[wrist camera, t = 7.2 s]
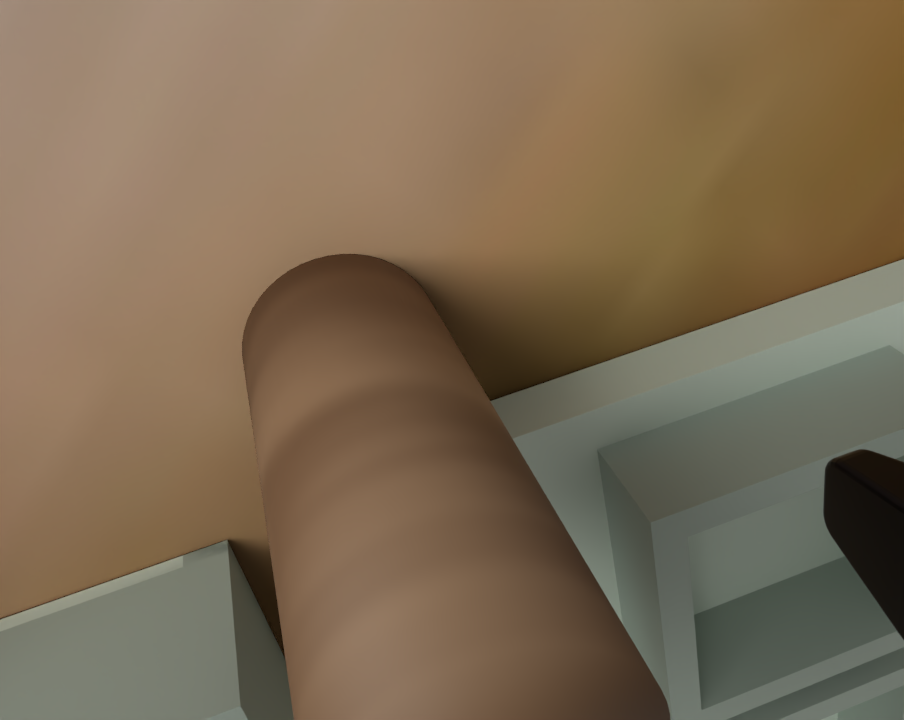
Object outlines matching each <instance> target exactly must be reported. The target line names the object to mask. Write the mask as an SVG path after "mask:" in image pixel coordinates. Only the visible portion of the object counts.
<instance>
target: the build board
mask: <svg viewBox="0 0 904 720" xmlns="http://www.w3.org/2000/svg"><path fill="white" fill-rule="evenodd" d="M490 402H491V403H492V405H493V407H494V409H495V410H496V412H497V414H498V415H499V417H500V419H501V420H502V422H503V424H504V425H505V427H506V429H507V430H508V432H509V434H510V435H511V437H512V439H513V440H514V442H515V444H516V446H517V447H518V449H519V451H520V452H521V454H522V456H523V457H524V459H525V461H526V462H527V464H528V466H529V467H530V469H531V471H532V472H533V474H534V476H535V477H536V479H537V481H538V483H539V484H540V486H541V488H542V489H543V491H544V493H545V494H546V496H547V498H548V499H549V501H550V503H551V504H552V506H553V508H554V509H555V511H556V513H557V515H558V516H559V518H560V520H561V521H562V523H563V525H564V526H565V528H566V530H567V531H568V533H569V535H570V536H571V538H572V540H573V541H574V543H575V545H576V546H577V548H578V550H579V552H580V553H581V555H582V557H583V558H584V560H585V562H586V563H587V565H588V567H589V568H590V570H591V572H592V573H593V575H594V577H595V578H596V580H597V582H598V583H599V585H600V587H601V589H602V590H603V592H604V594H605V595H606V597H607V599H608V600H609V602H610V604H611V605H612V607H613V609H614V610H615V612H616V614H617V615H618V617H619V619H620V621H621V622H622V624H623V626H624V627H625V629H626V631H627V632H628V634H629V636H630V637H631V639H632V641H633V642H634V644H635V646H636V647H637V649H638V651H639V652H640V654H641V656H642V658H643V659H644V661H645V663H646V664H647V666H648V668H649V669H650V671H651V673H652V674H653V676H654V678H655V679H656V681H657V683H658V684H659V686H660V688H661V690H662V692H663V694H664V696H665V698H666V700H667V703H668V708H669V712H670V720H904V640H903V639H902V637H901V636H900V635H899V633H898V632H897V630H896V629H895V628H894V626H893V625H892V623H891V622H890V620H889V619H888V617H887V616H886V615H885V613H884V612H883V610H882V609H881V607H880V606H879V604H878V603H877V602H876V600H875V599H874V597H873V596H872V594H871V593H870V591H869V590H868V589H867V587H866V586H865V584H864V583H863V581H862V580H861V579H860V577H859V576H858V574H857V573H856V571H855V570H854V568H853V567H852V566H851V564H850V563H849V561H848V560H847V558H846V557H845V555H844V554H843V553H842V551H841V550H840V548H839V547H838V545H837V544H836V542H835V541H834V540H833V538H832V537H831V535H830V533H829V531H828V529H827V527H826V524H825V521H824V517H823V502H824V475H825V467H826V465H827V463H828V462H829V461H830V460H831V459H833V458H835V457H838V456H841V455H843V454H846V453H849V452H852V451H854V450H858V449H866V450H871V451H874V452H877V453H880V454H883V455H886V456H888V457H891V458H894V459H897V460H900V461H903V462H904V259H902V260H899V261H897V262H894V263H891V264H888V265H885V266H882V267H879V268H876V269H873V270H870V271H867V272H865V273H862V274H859V275H856V276H853V277H850V278H847V279H844V280H841V281H838V282H835V283H833V284H830V285H827V286H824V287H821V288H818V289H815V290H812V291H809V292H806V293H803V294H801V295H798V296H795V297H792V298H789V299H786V300H783V301H780V302H777V303H774V304H771V305H769V306H766V307H763V308H760V309H757V310H754V311H751V312H748V313H745V314H742V315H739V316H737V317H734V318H731V319H728V320H725V321H722V322H719V323H716V324H713V325H710V326H707V327H705V328H702V329H699V330H696V331H693V332H690V333H687V334H684V335H681V336H678V337H675V338H673V339H670V340H667V341H664V342H661V343H658V344H655V345H652V346H649V347H646V348H643V349H641V350H638V351H635V352H632V353H629V354H626V355H623V356H620V357H617V358H614V359H612V360H609V361H606V362H603V363H600V364H597V365H594V366H591V367H588V368H585V369H582V370H580V371H577V372H574V373H571V374H568V375H565V376H562V377H559V378H556V379H553V380H550V381H548V382H545V383H542V384H539V385H536V386H533V387H530V388H527V389H524V390H521V391H518V392H516V393H513V394H510V395H507V396H504V397H501V398H498V399H495V400H492V401H490Z"/></svg>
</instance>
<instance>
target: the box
mask: <svg viewBox="0 0 904 720" xmlns="http://www.w3.org/2000/svg"><path fill="white" fill-rule="evenodd" d="M0 720H294V717H293V710H292V703H291V696H290V688H289V681H288V674H287V667H286V660H285V657H284V655H283V653H282V651H281V649H280V647H279V645H278V643H277V641H276V639H275V637H274V635H273V633H272V631H271V629H270V627H269V625H268V622H267V620H266V618H265V616H264V614H263V612H262V610H261V608H260V606H259V604H258V602H257V600H256V598H255V596H254V594H253V592H252V590H251V588H250V586H249V584H248V582H247V579H246V577H245V575H244V573H243V571H242V569H241V567H240V565H239V563H238V561H237V559H236V557H235V555H234V553H233V551H232V549H231V547H230V545H229V543H228V541H227V540H226V541H223V542H220V543H217V544H214V545H211V546H208V547H206V548H203V549H200V550H197V551H194V552H191V553H189V554H186V555H183V556H180V557H177V558H174V559H171V560H169V561H166V562H163V563H160V564H157V565H154V566H152V567H149V568H146V569H143V570H140V571H137V572H134V573H132V574H129V575H126V576H123V577H120V578H117V579H114V580H112V581H109V582H106V583H103V584H100V585H97V586H95V587H92V588H89V589H86V590H83V591H80V592H77V593H75V594H72V595H69V596H66V597H63V598H60V599H58V600H55V601H52V602H49V603H46V604H43V605H40V606H38V607H35V608H32V609H29V610H26V611H23V612H20V613H18V614H15V615H12V616H9V617H6V618H3V619H1V620H0Z"/></svg>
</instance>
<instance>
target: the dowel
mask: <svg viewBox="0 0 904 720" xmlns="http://www.w3.org/2000/svg"><path fill="white" fill-rule="evenodd" d="M242 356H243V364H244V371H245V378H246V385H247V392H248V399H249V406H250V413H251V420H252V427H253V434H254V441H255V448H256V455H257V462H258V469H259V477H260V484H261V491H262V498H263V505H264V512H265V519H266V526H267V533H268V540H269V547H270V554H271V561H272V568H273V575H274V583H275V590H276V597H277V604H278V611H279V618H280V625H281V632H282V639H283V646H284V653H285V660H286V667H287V674H288V681H289V688H290V696H291V703H292V710H293V717H294V720H670V712H669V708H668V703H667V700H666V698H665V696H664V694H663V692H662V690H661V688H660V686H659V684H658V683H657V681H656V679H655V678H654V676H653V674H652V673H651V671H650V669H649V668H648V666H647V664H646V663H645V661H644V659H643V658H642V656H641V654H640V652H639V651H638V649H637V647H636V646H635V644H634V642H633V641H632V639H631V637H630V636H629V634H628V632H627V631H626V629H625V627H624V626H623V624H622V622H621V621H620V619H619V617H618V615H617V614H616V612H615V610H614V609H613V607H612V605H611V604H610V602H609V600H608V599H607V597H606V595H605V594H604V592H603V590H602V589H601V587H600V585H599V583H598V582H597V580H596V578H595V577H594V575H593V573H592V572H591V570H590V568H589V567H588V565H587V563H586V562H585V560H584V558H583V557H582V555H581V553H580V552H579V550H578V548H577V546H576V545H575V543H574V541H573V540H572V538H571V536H570V535H569V533H568V531H567V530H566V528H565V526H564V525H563V523H562V521H561V520H560V518H559V516H558V515H557V513H556V511H555V509H554V508H553V506H552V504H551V503H550V501H549V499H548V498H547V496H546V494H545V493H544V491H543V489H542V488H541V486H540V484H539V483H538V481H537V479H536V477H535V476H534V474H533V472H532V471H531V469H530V467H529V466H528V464H527V462H526V461H525V459H524V457H523V456H522V454H521V452H520V451H519V449H518V447H517V446H516V444H515V442H514V440H513V439H512V437H511V435H510V434H509V432H508V430H507V429H506V427H505V425H504V424H503V422H502V420H501V419H500V417H499V415H498V414H497V412H496V410H495V409H494V407H493V405H492V403H491V402H490V400H489V398H488V397H487V395H486V393H485V392H484V390H483V388H482V387H481V385H480V383H479V382H478V380H477V378H476V377H475V375H474V373H473V371H472V370H471V368H470V366H469V365H468V363H467V361H466V360H465V358H464V356H463V355H462V353H461V351H460V350H459V348H458V346H457V345H456V343H455V341H454V340H453V338H452V336H451V334H450V333H449V331H448V329H447V328H446V326H445V324H444V323H443V321H442V319H441V318H440V316H439V314H438V313H437V311H436V309H435V308H434V306H433V304H432V303H431V301H430V299H429V297H428V296H427V294H426V293H425V291H424V290H423V289H422V287H421V286H420V285H419V284H418V283H417V282H416V281H415V280H414V279H413V278H412V277H411V276H410V275H409V274H407V273H406V272H405V271H404V270H402V269H400V268H399V267H397V266H395V265H393V264H391V263H389V262H386V261H384V260H381V259H378V258H374V257H370V256H365V255H357V254H340V255H332V256H326V257H322V258H318V259H314V260H311V261H309V262H306V263H303V264H301V265H299V266H297V267H295V268H293V269H292V270H290V271H288V272H287V273H285V274H284V275H282V276H281V277H280V278H278V279H277V280H276V281H275V282H274V283H273V284H272V285H270V286H269V287H268V288H267V290H266V291H265V292H264V293H263V294H262V295H261V297H260V298H259V299H258V301H257V302H256V304H255V306H254V307H253V309H252V311H251V313H250V315H249V317H248V320H247V323H246V326H245V330H244V334H243V341H242Z"/></svg>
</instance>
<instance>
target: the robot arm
mask: <svg viewBox="0 0 904 720" xmlns="http://www.w3.org/2000/svg"><path fill="white" fill-rule="evenodd" d="M823 517H824V521H825V524H826V527H827V529H828V531H829V533H830V535H831V537H832V538H833V540H834V541H835V542H836V544H837V545H838V547H839V548H840V550H841V551H842V553H843V554H844V555H845V557H846V558H847V560H848V561H849V563H850V564H851V566H852V567H853V568H854V570H855V571H856V573H857V574H858V576H859V577H860V579H861V580H862V581H863V583H864V584H865V586H866V587H867V589H868V590H869V591H870V593H871V594H872V596H873V597H874V599H875V600H876V602H877V603H878V604H879V606H880V607H881V609H882V610H883V612H884V613H885V615H886V616H887V617H888V619H889V620H890V622H891V623H892V625H893V626H894V628H895V629H896V630H897V632H898V633H899V635H900V636H901V637H902V639H903V640H904V462H903V461H900V460H897V459H894V458H891V457H888V456H886V455H883V454H880V453H877V452H874V451H871V450H866V449H858V450H854V451H852V452H849V453H846V454H843V455H841V456H838V457H835V458H833V459H831V460H830V461H829V462H828V463H827V465H826V467H825V475H824V502H823Z"/></svg>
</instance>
